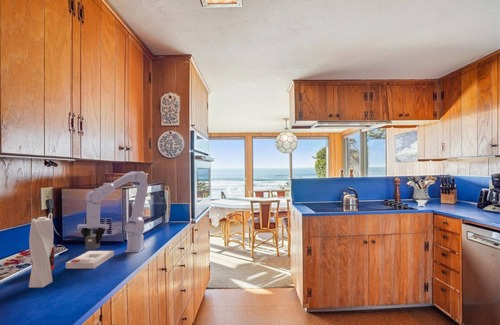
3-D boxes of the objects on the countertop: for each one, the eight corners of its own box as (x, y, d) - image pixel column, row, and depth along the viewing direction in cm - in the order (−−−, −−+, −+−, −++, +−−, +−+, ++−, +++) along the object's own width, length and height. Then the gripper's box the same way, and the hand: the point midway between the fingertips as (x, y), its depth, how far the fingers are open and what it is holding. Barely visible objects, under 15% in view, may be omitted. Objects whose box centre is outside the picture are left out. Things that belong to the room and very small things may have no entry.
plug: (93, 245, 136) (93, 233, 136) (102, 245, 136) (102, 233, 136) (85, 249, 129) (85, 236, 129) (94, 249, 129) (94, 236, 129)
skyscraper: (58, 280, 110) (59, 211, 111) (45, 288, 103) (46, 215, 103) (38, 280, 110) (39, 211, 111) (23, 289, 102) (24, 215, 103)
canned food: (28, 272, 119) (28, 247, 119) (48, 266, 126) (49, 243, 126) (37, 275, 115) (37, 249, 115) (57, 269, 122) (58, 245, 122)
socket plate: (89, 255, 141) (89, 249, 141) (113, 255, 141) (113, 249, 141) (65, 268, 123) (65, 261, 123) (94, 268, 123) (94, 261, 123)
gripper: (73, 217, 128) (72, 245, 128) (104, 217, 128) (103, 245, 128) (82, 214, 135) (81, 241, 135) (111, 214, 135) (111, 241, 135)
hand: (93, 243), depth 132 cm, fingers closed on plug, 4 cm apart
